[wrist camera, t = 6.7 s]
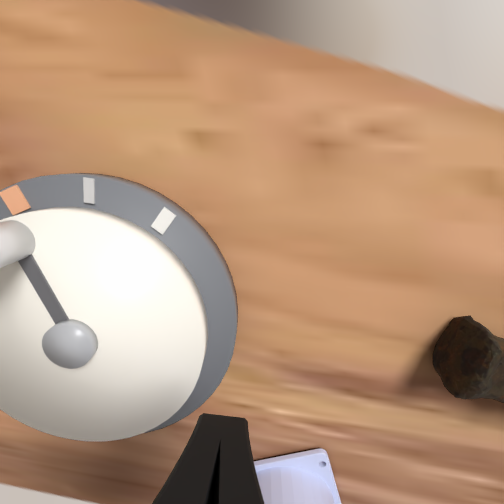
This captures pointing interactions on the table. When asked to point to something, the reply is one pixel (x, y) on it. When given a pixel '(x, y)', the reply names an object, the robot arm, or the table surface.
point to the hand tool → (470, 360)
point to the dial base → (170, 233)
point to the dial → (94, 325)
